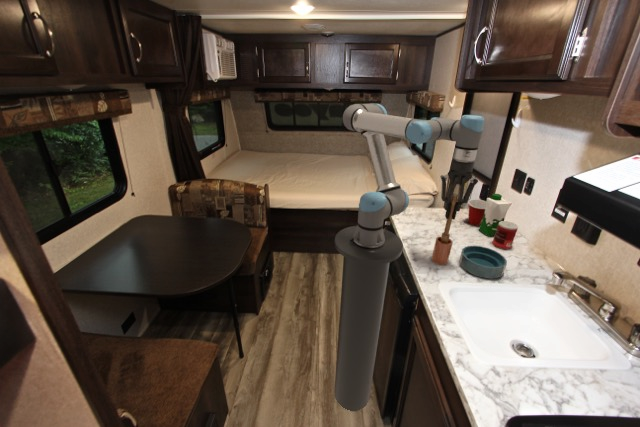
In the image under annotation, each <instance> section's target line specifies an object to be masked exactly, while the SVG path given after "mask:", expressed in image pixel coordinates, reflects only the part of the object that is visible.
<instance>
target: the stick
mask: <svg viewBox="0 0 640 427" xmlns="http://www.w3.org/2000/svg"><path fill="white" fill-rule="evenodd" d="M457 199H458V194H453V195H452V198H451V201H450V202H451V204H452V205H451V209H450V213H449V218H448V219H446V222H445V226H444V231H443V232H442V233H441V236H440V237H441V241H440V242H441V243H445V244H448V241H449V239H450V237H451V234H450V229H451V226H452V222H453V219H452V217H453V213H454V209H455V205H456V202H457Z"/></svg>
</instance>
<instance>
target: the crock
mask: <svg viewBox="0 0 640 427" xmlns="http://www.w3.org/2000/svg"><path fill="white" fill-rule="evenodd" d="M440 241H441V236H437V237H436V238H435V241H434V245H433V246H434V247H433V251H432V255H431V260H432V262H433V263H434V264H437V265H440V266H444V265H447V264H448V262H449V259H450V255H451V251H452V247H453V243H454V242H453V240H452V239H451V238H449V241H448V244H445V243H441V242H440Z"/></svg>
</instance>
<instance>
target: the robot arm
mask: <svg viewBox="0 0 640 427" xmlns="http://www.w3.org/2000/svg"><path fill="white" fill-rule="evenodd" d="M342 122H343V126H344V127H345V128H346V129H347V130H349V131H352V132H359V133H360V136H361V137H362V138H364V139H365V141H366V146H367V149H368V153H369V157H370V161H371V165H372V168H373V173H374V176H375V180H376V184H377V189H376V190H375V191H368V192H365V193H363V194H362V195H361V196H360V198H359V202H358V212H357V224H356V226H357V227H356V230H355V232H354V234H353V238H352V239H351V240H350V242H352V241H353V243H354V244H355V245H357V246H359V247H361V248H364V249H378V248H381V247H383V246H384V244H385V237H384V232H385V230H386V229H385V228H384V220H385V219H389V218H392V217H394V216H397V215H400V214H402V213H404V212H405V211H406V210H407V208H408V207H409V204H410V197H409V195H408V193H407V192H406V191H405V190H404V189H403V188H402V187H401V184H400V183H398V182H397V180H396V177H395V174H394V173H395V172H394V169H393V165H392V162H391V158H390V154H389V150H388V149H389V148H388V146H387V141H386V138H385V136H389V137H394V138H400V139H404V140H407V141H409V142H410V143H411V144H416V145H417V144H419V145H420V144H425V143H429V142H435V141H440V140H441V141H442V140H443V141H451V142H455V144H454V149H453V153H452V158H453V159H452V160H451V162H450V163H451V164H450V168H449V171H447V174H444V175H443V174H441V175H440V177H439V178H440V180H441V192H440V194H441V195H440V199H441V200H442V202H444V206H443V208H444V210H445V214H444V217H445V220H447V219H448V218H449V213H450V209H451V205H452V204H451V200H452V196H453V195H454V192H455V189H456V187H457V186H458V192H457V196H458V197H457V201H456V205H455V209H454V213H453V217H452V221H454V220H456V217H457V212H460V211H461V206H462V205H463V204H468V201H469V200H470V197H471V195H472V192H473V190H474V188H475V186H476V185H477V184H478V183H479V179H478V178H477V177H474V176H473V169H474V166H475V161H476V158H477V154H478V153H477V152H478V149H479V145H480V141H481V138H482V135H483V131H484V125H485V117H484V116H482V115H474V114H464V115H463V114H462V116H461V118H460V119H452V118H445V117H431V118H430V119H419V118H413V117H406V116H405V117H404V116H397V115H393V114H391V115H390V114H388V111H387V110H386V108H385V107H384V106H383V105H382V104H380V103H376V102H375V103H374V102H370V103H355V104H350V105H349V106H348V107H346V109H345V110H344V112H343V115H342ZM448 179H449V181H450V185H449V187H448V188H449V189H448V191H447V181H448ZM468 182H469V183H468ZM467 183H468V185H467V187H466V184H467ZM465 187H466V190H465ZM464 191H465V192H464ZM383 231H384V232H383Z"/></svg>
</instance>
